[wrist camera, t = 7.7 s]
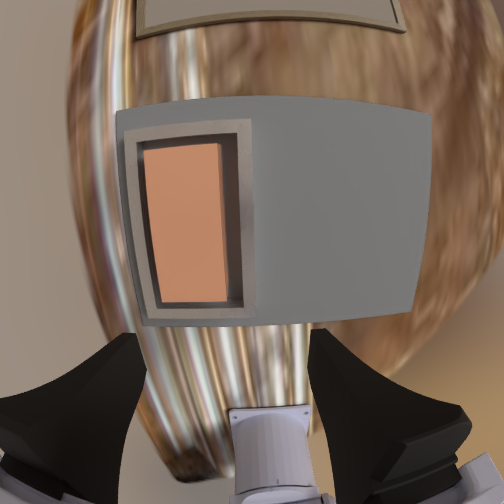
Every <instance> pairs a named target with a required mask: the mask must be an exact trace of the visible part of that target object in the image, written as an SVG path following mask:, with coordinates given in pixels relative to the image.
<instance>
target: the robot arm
mask: <svg viewBox="0 0 504 504" xmlns="http://www.w3.org/2000/svg"><path fill="white" fill-rule="evenodd" d="M307 369H308V374H309V380H310V385H311V389H312V392H313V396H314V399H315V402H316V405H317V408H318V411H319V414H320V417H321V420H322V423H323V426H324V430H325V433H326V437H327V442H328V447H329V453H330V459H331V465H332V472H333V478H334V487H335V496H336V500H335V498H334V497H332V496H330V495H329V494H328V493H324V494H321V497H320V494H319V489H318V486H316V485H315V480H314V474H313V469H312V464H311V459H310V453H309V448H308V443H307V438H306V435H307V430H308V425H309V420H310V415H311V406H310V405H299V406H288V407H274V408H255V409H231V410H230V411H229V418H230V425H231V432H232V439H233V445H234V451H235V495H234V496H229V504H503V503H504V481H503V479H502V477H501V476H500V473H499V472H498V470H497V468H496V466H495V464H494V463H493V461H492V460H491V458H490V456H489V454H488V453H487V452H485V453H483V454H481V455H480V456H478V457H476V458H475V459H473V460H471V461H469V462H467V463H466V464H464V465H463V466H461V467H460V468H459V469H457V467H456V465H455V463H456V462H457V461H458V458H457V456H456V454H455V452H456V451H457V450H458V448H459V447H460V446H461V445H462V443H463V442H464V441H465V440H466V438H467V437H468V435H469V434H470V431H471V428H472V423H471V421H470V419H469V418H468V416H467V415H466V414H465V412H464V410H463V409H462V408H461V406H460V405H455V404H451V403H447V402H442V401H438V400H435V399H432V398H429V397H426V396H423V395H421V394H418V393H415V392H413V391H411V390H409V389H407V388H405V387H402V386H400V385H398V384H396V383H395V382H393V381H391V380H389V379H388V378H386V377H384V376H383V375H381V374H379V373H378V372H376V371H375V370H373V369H372V368H371V367H369V366H368V365H367V364H365V363H364V362H363V361H361V360H360V359H359V358H358V357H356V356H355V355H354V354H353V353H352V352H350V351H349V350H348V349H347V348H346V347H345V346H344V345H343V344H342V343H341V342H339V341H338V340H337V339H336V338H335V337H334V336H333V335H332V334H331V333H330V332H329V331H328V330H327V329H326V328H323V329H312V330H311V333H310V345H309V355H308V365H307ZM146 371H147V368H146V365H145V362H144V359H143V356H142V353H141V349H140V346H139V343H138V339H137V336H136V333H122V334H121V335H119V336H118V337H116V338H115V339H113V340H112V341H111V342H109V343H108V344H107V345H106V346H104V347H103V348H102V349H100V350H99V351H98V352H96V353H95V354H94V355H93V356H91V357H90V358H89V359H87V360H85V361H84V362H83V363H81V364H80V365H78V366H77V367H76V368H74V369H73V370H71V371H69V372H68V373H66V374H65V375H63V376H61V377H59V378H57V379H56V380H53V381H51V382H49V383H47V384H44V385H42V386H40V387H38V388H35V389H33V390H30V391H27V392H24V393H20V394H17V395H13V396H9V397H4V398H0V448H1V449H2V450H3V451H4V452H5V454H4V456H3V457H1V456H0V504H118V484H119V474H120V466H121V459H122V453H123V448H124V443H125V438H126V434H127V431H128V427H129V424H130V422H131V419H132V417H133V414H134V411H135V409H136V406H137V403H138V400H139V398H140V395H141V392H142V389H143V385H144V381H145V376H146ZM320 498H321V499H320Z"/></svg>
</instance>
